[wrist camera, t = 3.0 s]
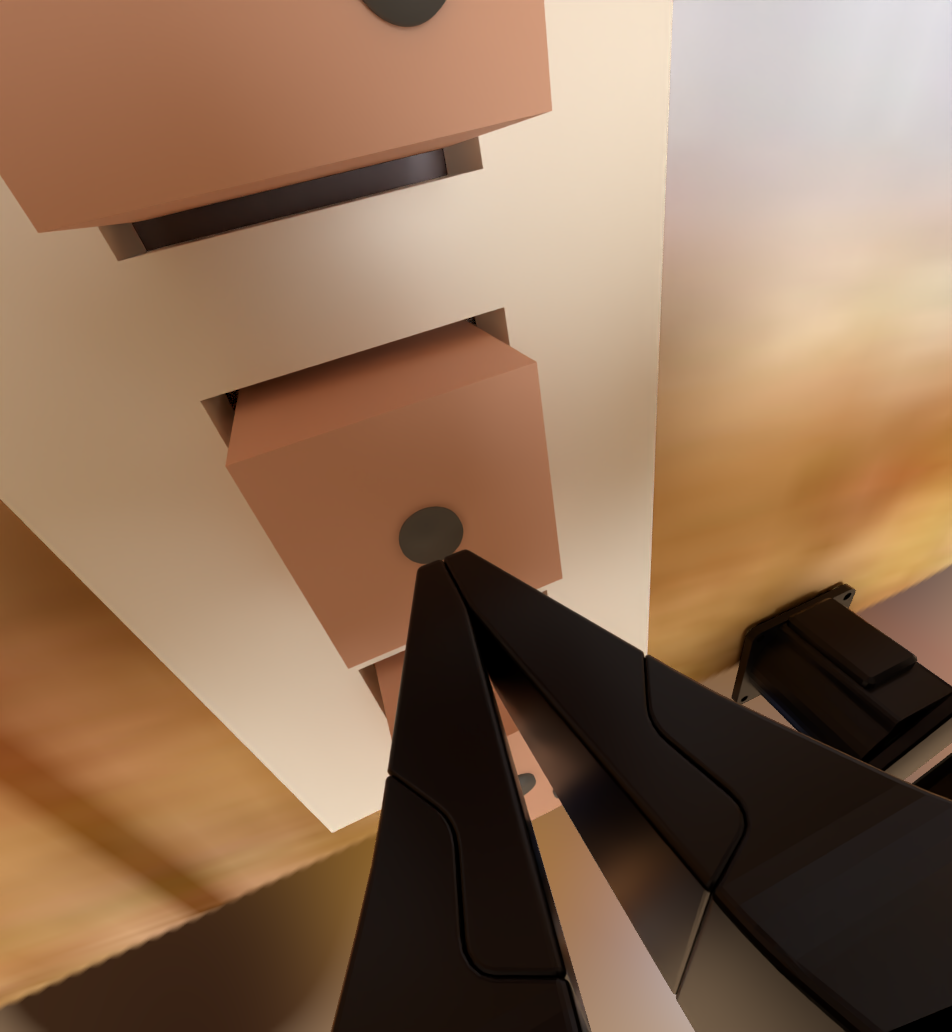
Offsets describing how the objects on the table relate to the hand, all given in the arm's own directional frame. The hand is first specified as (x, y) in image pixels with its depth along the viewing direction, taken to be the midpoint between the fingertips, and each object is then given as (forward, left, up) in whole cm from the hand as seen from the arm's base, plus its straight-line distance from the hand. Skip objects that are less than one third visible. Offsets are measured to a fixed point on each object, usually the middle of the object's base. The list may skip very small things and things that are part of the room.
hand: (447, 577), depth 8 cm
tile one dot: (0, 0, -5) cm, 5 cm away
